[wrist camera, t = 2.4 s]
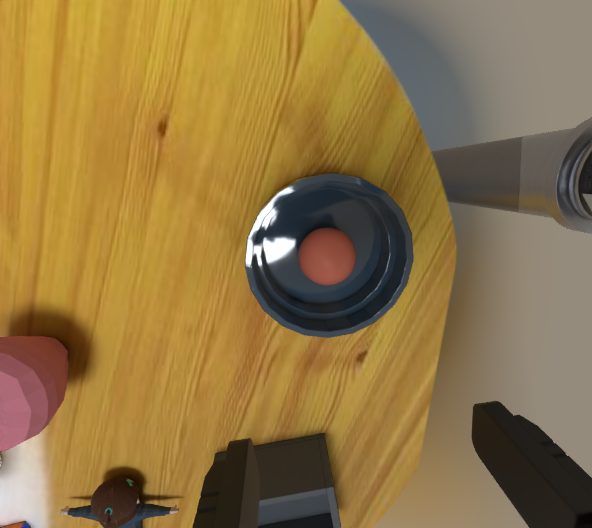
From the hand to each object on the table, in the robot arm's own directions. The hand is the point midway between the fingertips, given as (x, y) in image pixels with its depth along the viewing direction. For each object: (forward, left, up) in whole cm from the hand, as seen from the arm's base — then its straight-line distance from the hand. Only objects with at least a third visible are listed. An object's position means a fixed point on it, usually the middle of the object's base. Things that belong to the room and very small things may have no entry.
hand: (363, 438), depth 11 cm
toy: (+28, +28, -21) cm, 45 cm away
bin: (+8, +28, -20) cm, 36 cm away
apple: (+28, +4, -21) cm, 35 cm away
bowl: (-2, -2, -20) cm, 21 cm away
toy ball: (-2, -2, -17) cm, 18 cm away
